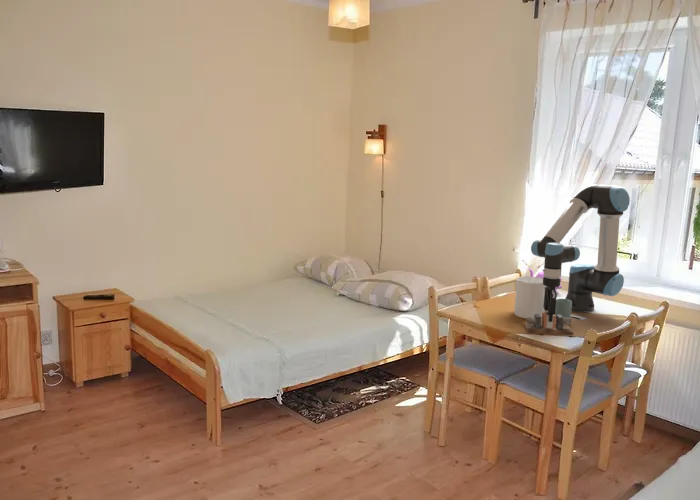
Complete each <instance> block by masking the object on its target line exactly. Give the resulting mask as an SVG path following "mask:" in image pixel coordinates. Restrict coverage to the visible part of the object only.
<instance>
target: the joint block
mask: <svg viewBox="0 0 700 500" xmlns="http://www.w3.org/2000/svg"><path fill="white" fill-rule="evenodd" d="M546 313H548V312H542V318H541V325H542V327H543V328H546V322H547V315H546ZM555 324H556V316H555V315H554V316H553V329H555Z"/></svg>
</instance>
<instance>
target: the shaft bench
mask: <svg viewBox="0 0 700 500" xmlns="http://www.w3.org/2000/svg"><path fill="white" fill-rule="evenodd" d="M541 321H542V318H541V316H540V315H539V314H535V316H534V317H527V318H526V322H523V326H524V327H523V328H525V330H526V331H527V333H531V334H532V333H534V334H554V335H555V334H556V335H557V334H560V335H561V334H562V335H574V330H573V329H572V328H571V327H570V325H572V324H573V323H572V317H570V318H563V316H562V315H561V314H556V319H555V329H553V328H543V327H542V325H541Z"/></svg>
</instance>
